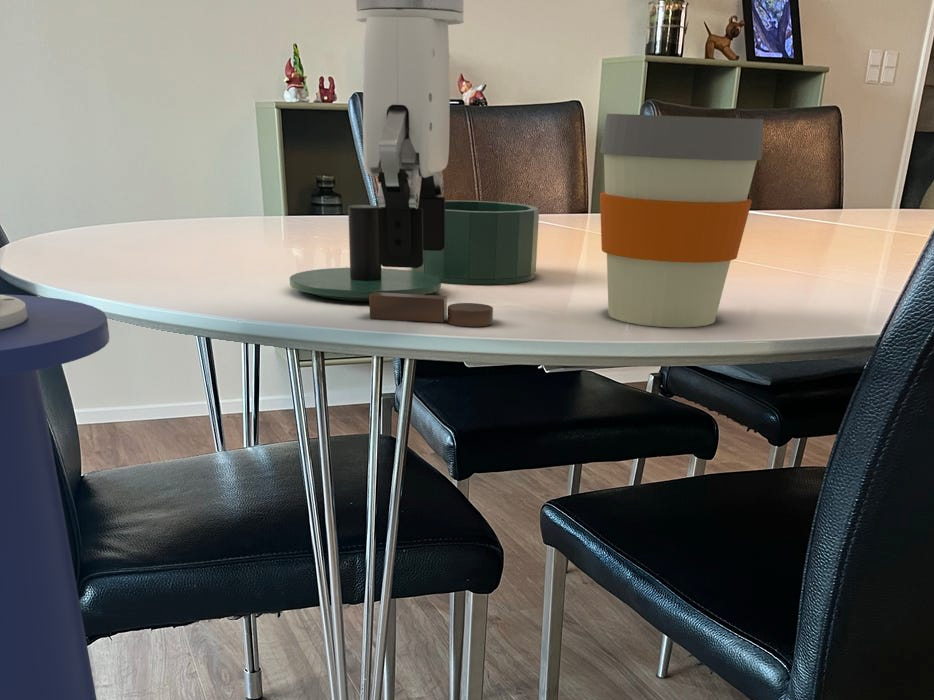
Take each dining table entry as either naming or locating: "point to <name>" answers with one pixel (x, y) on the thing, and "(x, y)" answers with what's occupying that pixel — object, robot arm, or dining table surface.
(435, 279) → the lid
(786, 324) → the dining table surface
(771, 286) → the dining table surface
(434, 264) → the tin
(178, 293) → the dining table surface
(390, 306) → the wooden bar and disc
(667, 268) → the reusable coffee cup
